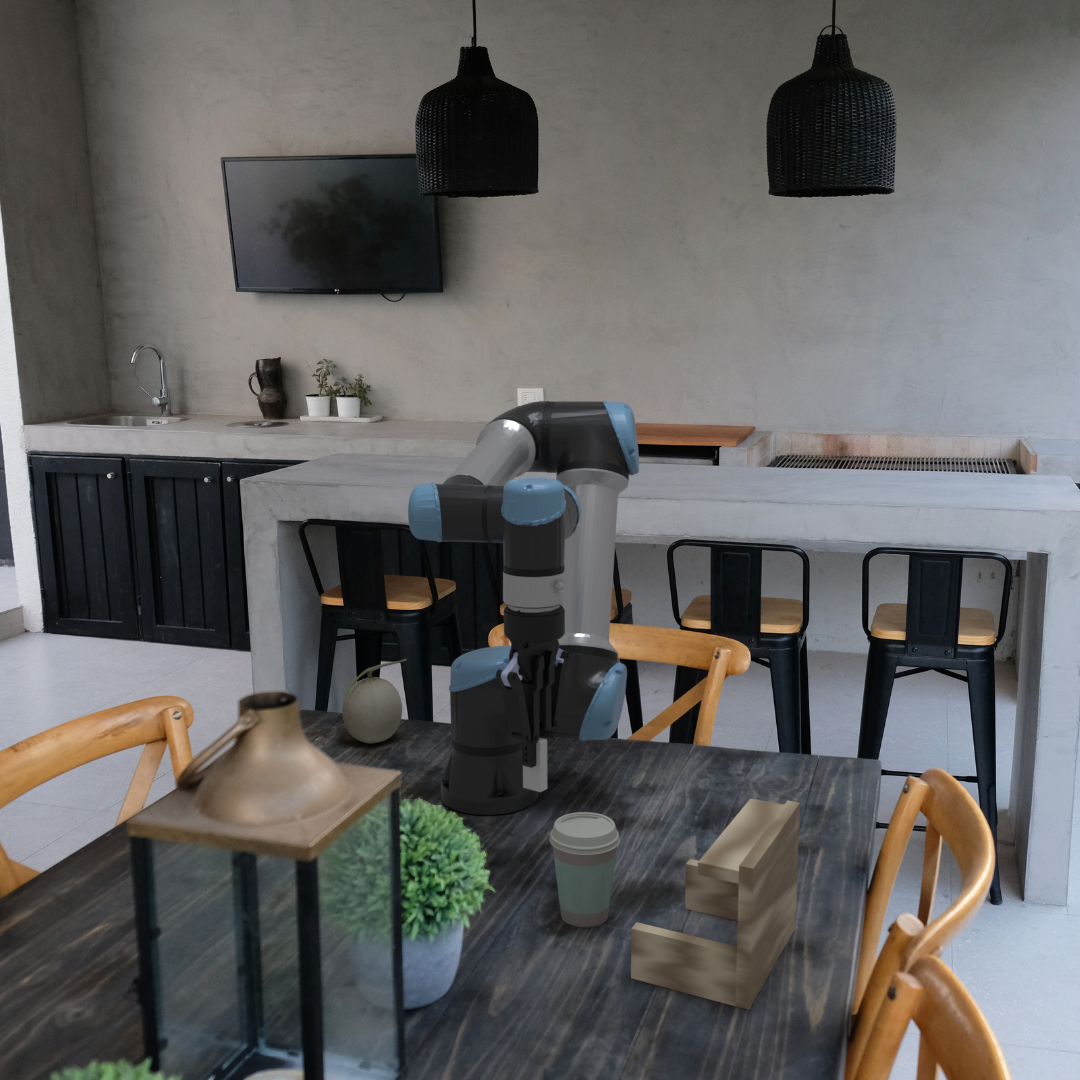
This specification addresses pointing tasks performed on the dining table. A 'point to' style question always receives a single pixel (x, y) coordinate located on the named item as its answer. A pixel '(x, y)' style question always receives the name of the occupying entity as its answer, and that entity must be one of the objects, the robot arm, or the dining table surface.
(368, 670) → the fruit
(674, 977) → the nook
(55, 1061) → the dining table surface
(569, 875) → the coffee cup
